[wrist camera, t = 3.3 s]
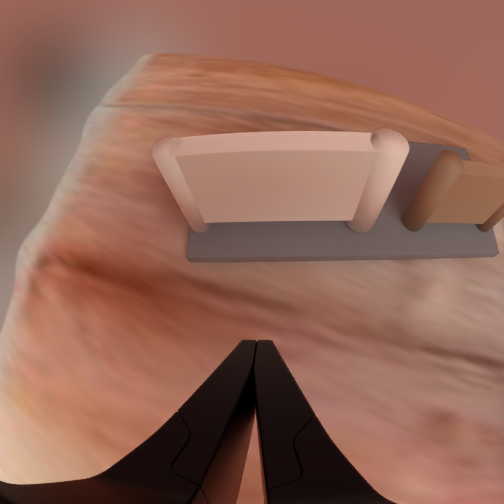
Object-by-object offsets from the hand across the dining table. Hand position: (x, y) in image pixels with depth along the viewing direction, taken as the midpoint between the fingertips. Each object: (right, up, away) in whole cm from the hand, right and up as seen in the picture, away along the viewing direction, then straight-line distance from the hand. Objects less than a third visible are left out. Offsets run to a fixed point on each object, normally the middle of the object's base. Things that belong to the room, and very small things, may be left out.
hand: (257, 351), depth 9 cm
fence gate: (+2, +5, +12) cm, 14 cm away
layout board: (+7, +7, +14) cm, 17 cm away
